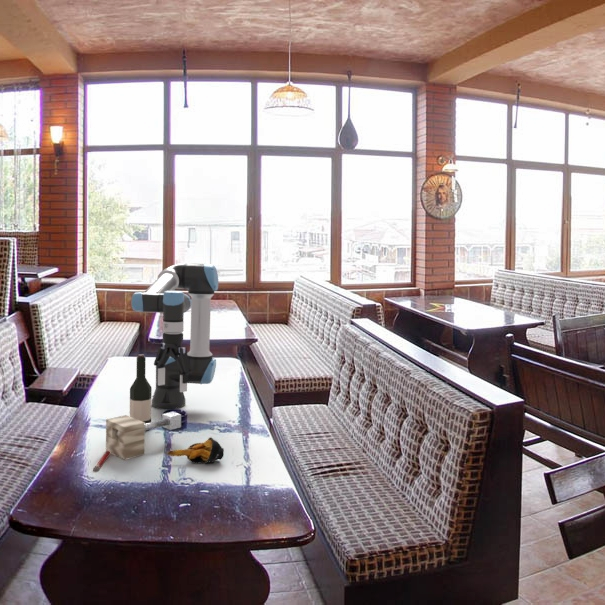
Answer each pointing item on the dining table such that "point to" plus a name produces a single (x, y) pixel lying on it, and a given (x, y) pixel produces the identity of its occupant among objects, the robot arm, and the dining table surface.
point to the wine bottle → (141, 394)
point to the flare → (101, 461)
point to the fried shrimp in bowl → (201, 452)
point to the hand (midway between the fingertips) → (172, 388)
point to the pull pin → (164, 422)
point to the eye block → (125, 437)
